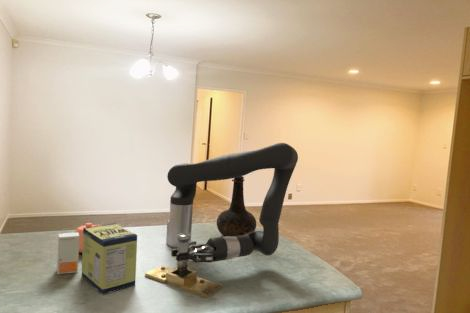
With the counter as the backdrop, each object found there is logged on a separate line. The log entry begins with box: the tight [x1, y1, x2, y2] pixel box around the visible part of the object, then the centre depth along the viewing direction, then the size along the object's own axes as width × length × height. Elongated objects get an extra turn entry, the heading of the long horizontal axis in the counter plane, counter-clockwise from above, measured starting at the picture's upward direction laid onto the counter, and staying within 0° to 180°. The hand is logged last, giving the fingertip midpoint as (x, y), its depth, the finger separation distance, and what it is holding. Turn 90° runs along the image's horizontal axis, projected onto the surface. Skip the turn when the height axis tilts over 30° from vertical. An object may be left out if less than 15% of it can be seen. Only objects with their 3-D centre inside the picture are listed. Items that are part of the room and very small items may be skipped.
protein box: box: [81, 222, 138, 295], centre depth 106 cm, size 10×16×16 cm
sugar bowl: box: [74, 222, 101, 254], centre depth 131 cm, size 12×14×10 cm
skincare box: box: [56, 232, 80, 275], centre depth 111 cm, size 6×4×12 cm
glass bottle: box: [216, 176, 257, 237], centre depth 157 cm, size 18×18×28 cm
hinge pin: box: [176, 233, 192, 277], centre depth 109 cm, size 4×4×13 cm
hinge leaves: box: [144, 265, 223, 299], centre depth 109 cm, size 24×8×3 cm, turn 61°
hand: (174, 255), depth 108 cm, fingers closed on hinge pin, 3 cm apart
